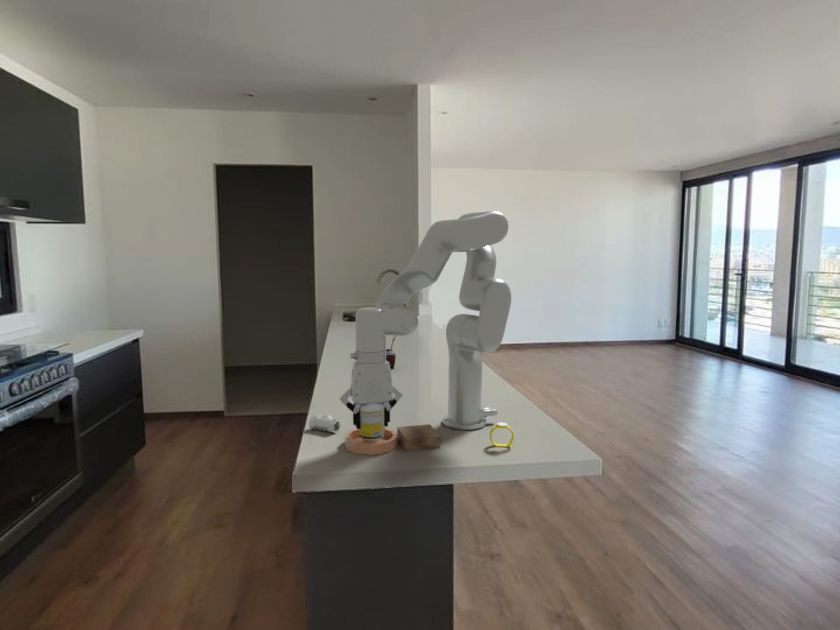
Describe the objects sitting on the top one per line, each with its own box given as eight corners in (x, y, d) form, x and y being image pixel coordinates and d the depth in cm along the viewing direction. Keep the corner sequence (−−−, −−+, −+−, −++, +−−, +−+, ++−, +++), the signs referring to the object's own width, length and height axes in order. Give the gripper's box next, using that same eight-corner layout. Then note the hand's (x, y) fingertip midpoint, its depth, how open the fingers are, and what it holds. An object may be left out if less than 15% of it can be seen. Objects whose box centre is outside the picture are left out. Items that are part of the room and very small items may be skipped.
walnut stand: (429, 435, 137) (429, 424, 136) (439, 447, 128) (439, 435, 128) (397, 438, 134) (397, 427, 134) (405, 450, 126) (405, 438, 125)
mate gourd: (376, 370, 214) (376, 334, 212) (382, 366, 221) (382, 332, 219) (394, 370, 212) (394, 335, 210) (398, 366, 220) (398, 332, 218)
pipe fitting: (323, 425, 146) (308, 430, 140) (324, 411, 146) (309, 416, 139) (347, 429, 142) (333, 435, 136) (347, 415, 142) (333, 421, 136)
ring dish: (390, 433, 137) (390, 424, 137) (401, 451, 125) (401, 441, 125) (342, 438, 134) (342, 428, 134) (348, 456, 121) (348, 446, 121)
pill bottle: (373, 431, 134) (373, 388, 132) (389, 437, 129) (389, 393, 128) (354, 437, 129) (353, 392, 128) (369, 444, 124) (369, 398, 123)
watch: (511, 445, 130) (514, 423, 130) (513, 449, 128) (515, 426, 127) (488, 443, 131) (490, 421, 130) (489, 447, 128) (491, 424, 127)
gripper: (337, 361, 121) (339, 434, 123) (408, 358, 125) (408, 428, 128) (334, 355, 128) (335, 424, 130) (401, 352, 133) (401, 418, 135)
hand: (371, 425), depth 129 cm, fingers closed on pill bottle, 6 cm apart
